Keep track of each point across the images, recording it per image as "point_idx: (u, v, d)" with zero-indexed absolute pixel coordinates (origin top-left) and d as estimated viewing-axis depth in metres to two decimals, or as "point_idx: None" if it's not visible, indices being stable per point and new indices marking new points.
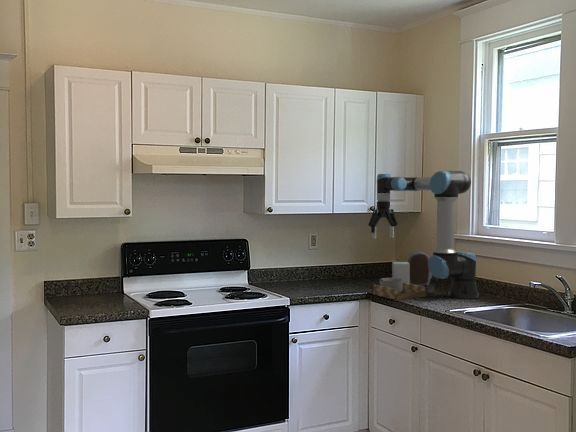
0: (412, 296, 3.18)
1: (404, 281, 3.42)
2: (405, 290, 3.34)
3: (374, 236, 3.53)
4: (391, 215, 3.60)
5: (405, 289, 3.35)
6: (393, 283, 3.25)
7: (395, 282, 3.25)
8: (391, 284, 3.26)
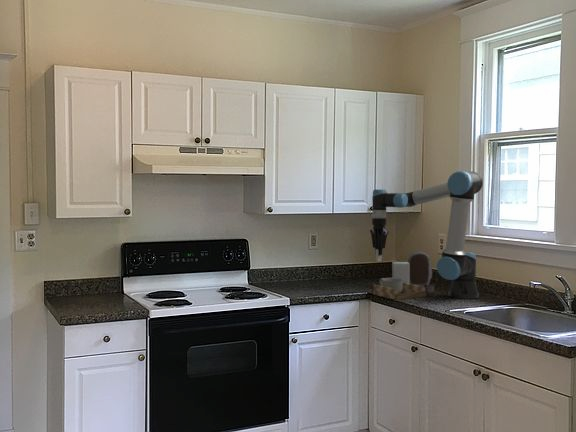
0: (412, 296, 3.18)
1: (404, 281, 3.42)
2: (405, 290, 3.34)
3: (380, 258, 3.40)
4: (374, 235, 3.43)
5: (405, 289, 3.35)
6: (393, 283, 3.25)
7: (395, 282, 3.25)
8: (391, 284, 3.26)
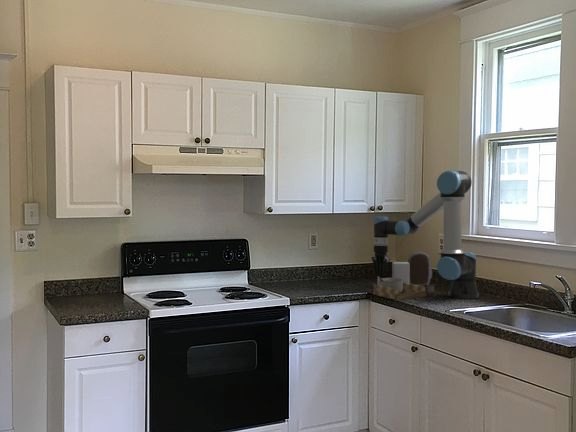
0: (412, 296, 3.18)
1: (404, 281, 3.42)
2: (405, 290, 3.34)
3: None
4: (376, 262, 3.42)
5: (405, 289, 3.35)
6: (394, 283, 3.25)
7: (395, 282, 3.25)
8: (392, 284, 3.25)
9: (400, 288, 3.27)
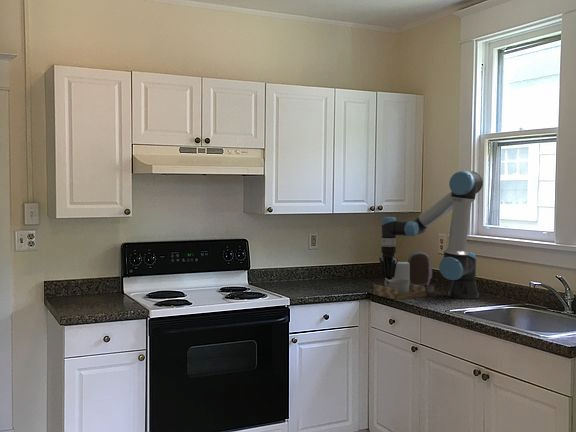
0: (412, 296, 3.18)
1: None
2: None
3: None
4: (383, 263, 3.37)
5: None
6: (401, 284, 3.20)
7: (403, 283, 3.20)
8: (399, 285, 3.21)
9: (407, 289, 3.23)
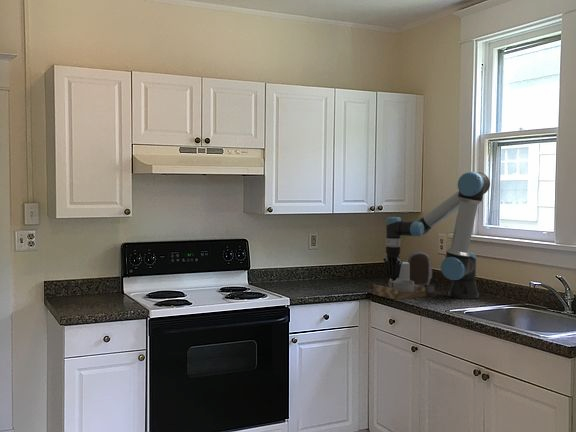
0: (412, 296, 3.18)
1: None
2: None
3: None
4: (388, 264, 3.33)
5: None
6: (407, 285, 3.17)
7: (409, 284, 3.18)
8: (405, 286, 3.17)
9: (412, 290, 3.20)
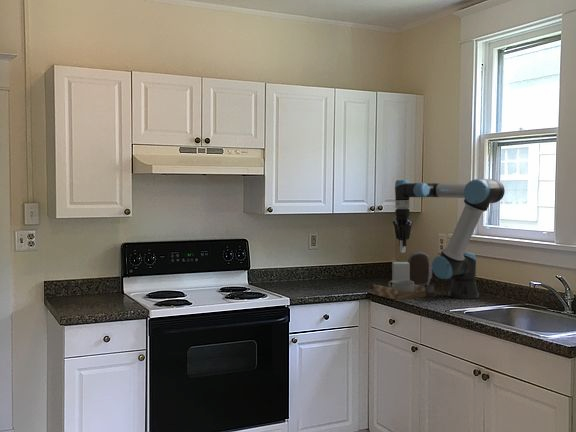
0: (412, 296, 3.18)
1: None
2: None
3: (404, 250, 3.37)
4: (397, 226, 3.40)
5: None
6: (407, 285, 3.18)
7: (409, 284, 3.18)
8: (405, 286, 3.18)
9: (412, 290, 3.20)
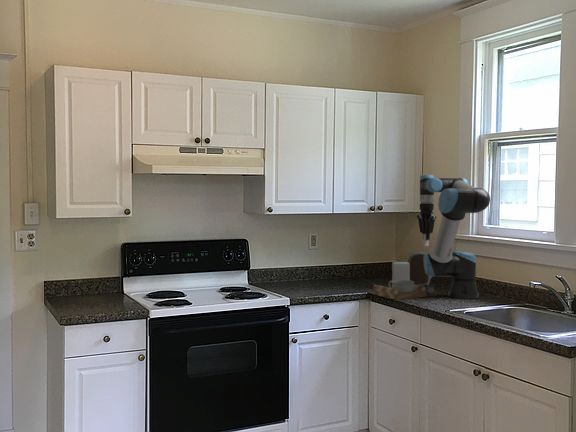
0: (412, 296, 3.18)
1: None
2: None
3: (427, 243, 3.44)
4: (421, 220, 3.47)
5: None
6: (407, 285, 3.18)
7: (409, 284, 3.18)
8: (405, 286, 3.18)
9: (412, 290, 3.20)
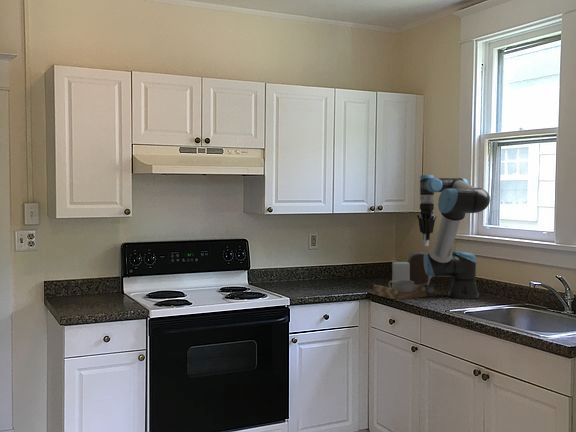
0: (412, 296, 3.18)
1: None
2: None
3: (427, 243, 3.44)
4: (421, 220, 3.47)
5: None
6: (407, 285, 3.18)
7: (409, 284, 3.18)
8: (405, 286, 3.18)
9: (412, 290, 3.20)
